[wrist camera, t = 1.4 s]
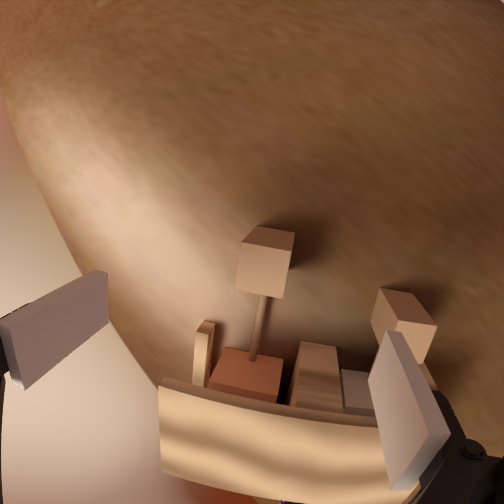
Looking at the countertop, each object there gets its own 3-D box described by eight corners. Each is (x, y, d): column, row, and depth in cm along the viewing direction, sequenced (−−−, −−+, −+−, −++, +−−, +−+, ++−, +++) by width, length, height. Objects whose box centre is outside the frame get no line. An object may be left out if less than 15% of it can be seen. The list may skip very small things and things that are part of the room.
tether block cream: (366, 285, 28) (382, 317, 21) (424, 295, 27) (451, 327, 21) (325, 411, 32) (326, 456, 25) (375, 416, 31) (384, 460, 25)
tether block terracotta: (242, 223, 29) (222, 238, 22) (309, 235, 28) (310, 255, 21) (219, 390, 34) (201, 433, 27) (272, 402, 33) (264, 447, 26)
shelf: (203, 320, 32) (158, 385, 21) (422, 358, 29) (457, 429, 18) (196, 402, 35) (162, 471, 24) (385, 434, 32) (399, 506, 21)
